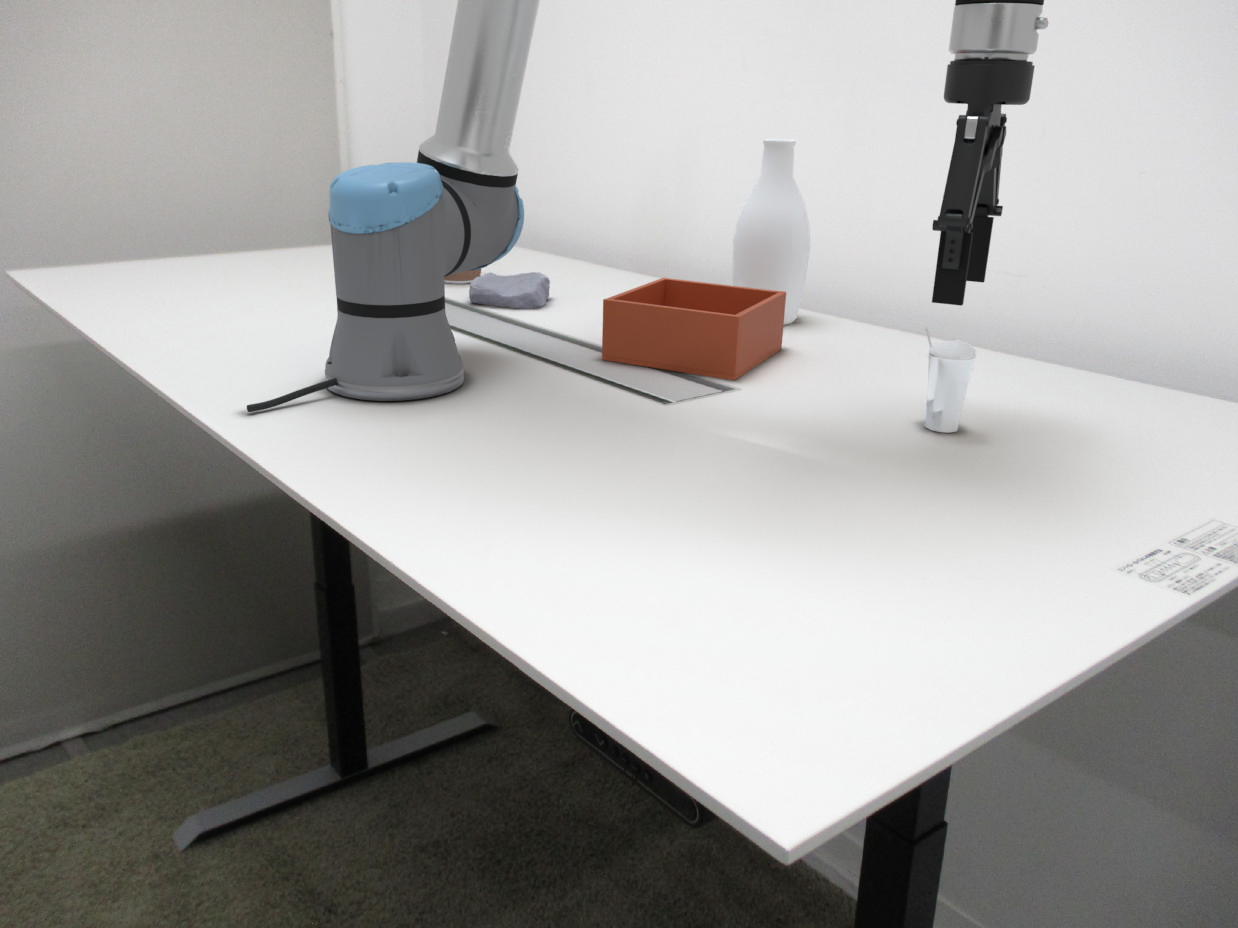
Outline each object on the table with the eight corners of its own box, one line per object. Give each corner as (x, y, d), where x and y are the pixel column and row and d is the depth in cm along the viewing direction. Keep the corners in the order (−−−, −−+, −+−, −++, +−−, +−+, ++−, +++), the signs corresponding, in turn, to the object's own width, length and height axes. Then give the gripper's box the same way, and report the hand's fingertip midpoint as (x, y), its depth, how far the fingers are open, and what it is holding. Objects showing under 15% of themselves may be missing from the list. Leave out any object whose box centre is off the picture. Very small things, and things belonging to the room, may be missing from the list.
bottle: (746, 308, 157) (758, 136, 148) (814, 317, 152) (831, 140, 143) (715, 320, 148) (726, 139, 139) (786, 331, 143) (802, 143, 134)
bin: (734, 380, 118) (739, 317, 115) (601, 360, 125) (603, 299, 123) (781, 349, 133) (786, 291, 130) (660, 332, 140) (662, 277, 138)
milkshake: (922, 416, 107) (935, 324, 104) (971, 427, 104) (986, 332, 100) (903, 426, 104) (916, 331, 100) (954, 438, 101) (969, 340, 97)
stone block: (542, 320, 152) (552, 295, 161) (540, 291, 150) (550, 266, 158) (465, 319, 154) (479, 294, 162) (461, 290, 151) (476, 265, 159)
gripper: (1019, 53, 79) (980, 319, 87) (1048, 62, 100) (1015, 276, 108) (922, 53, 82) (893, 310, 90) (970, 62, 103) (943, 269, 111)
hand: (959, 292), depth 99 cm, fingers open, 13 cm apart
